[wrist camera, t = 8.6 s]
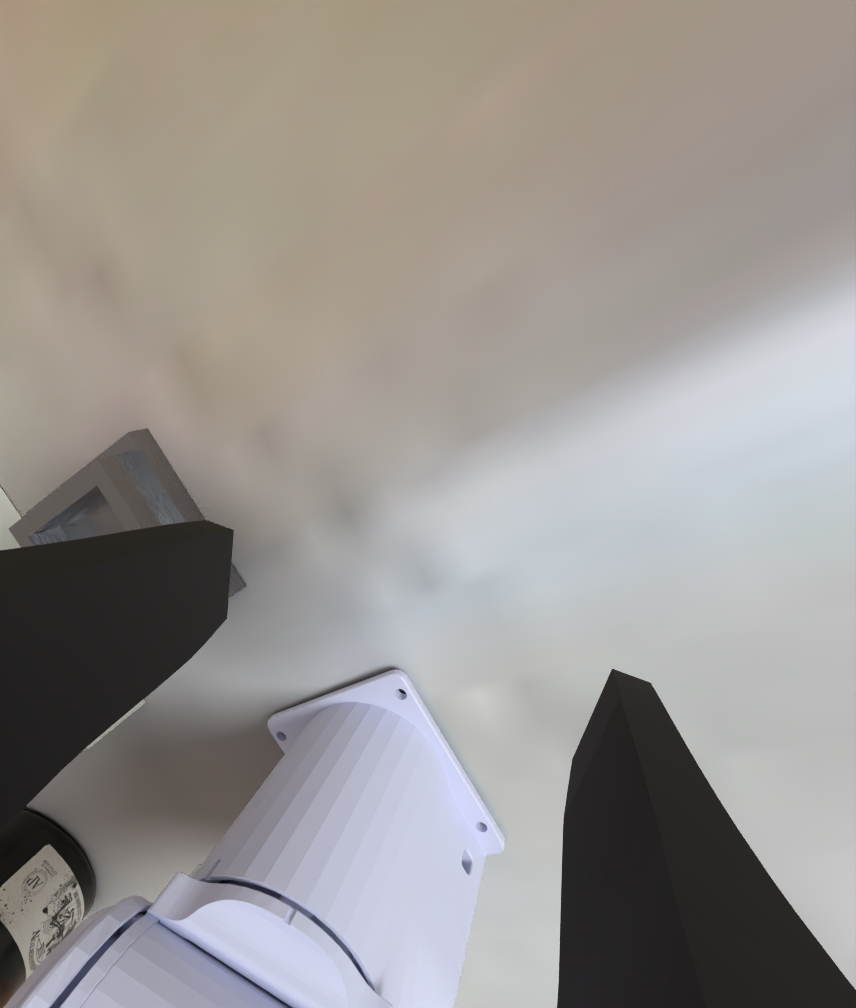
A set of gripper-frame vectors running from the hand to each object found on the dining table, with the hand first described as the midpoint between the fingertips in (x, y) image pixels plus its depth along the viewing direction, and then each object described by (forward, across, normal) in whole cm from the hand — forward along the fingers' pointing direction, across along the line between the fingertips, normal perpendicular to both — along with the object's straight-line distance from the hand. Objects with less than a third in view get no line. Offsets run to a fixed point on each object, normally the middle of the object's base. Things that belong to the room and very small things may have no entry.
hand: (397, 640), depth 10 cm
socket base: (+10, +15, +8) cm, 20 cm away
